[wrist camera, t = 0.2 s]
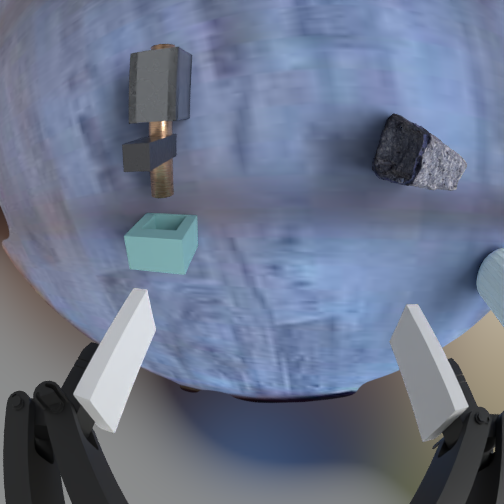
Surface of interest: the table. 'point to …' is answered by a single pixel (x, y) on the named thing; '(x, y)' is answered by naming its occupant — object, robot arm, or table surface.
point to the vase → (493, 282)
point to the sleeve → (159, 85)
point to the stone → (416, 157)
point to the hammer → (154, 153)
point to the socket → (162, 243)
